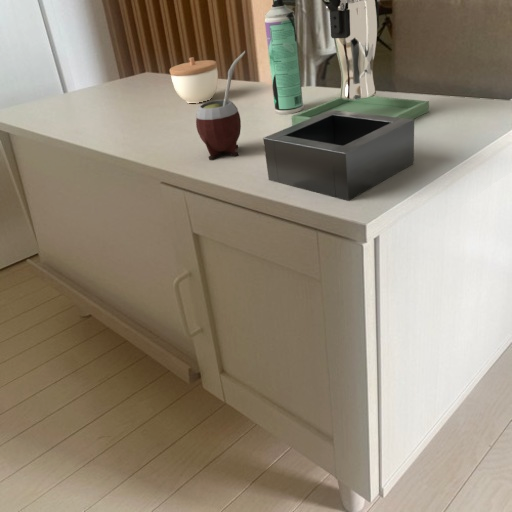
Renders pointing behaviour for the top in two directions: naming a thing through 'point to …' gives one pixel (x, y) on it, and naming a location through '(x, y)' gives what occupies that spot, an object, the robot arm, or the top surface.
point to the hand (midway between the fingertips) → (355, 32)
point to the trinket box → (195, 80)
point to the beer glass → (358, 51)
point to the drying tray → (368, 108)
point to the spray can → (284, 58)
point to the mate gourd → (220, 123)
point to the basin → (340, 152)
